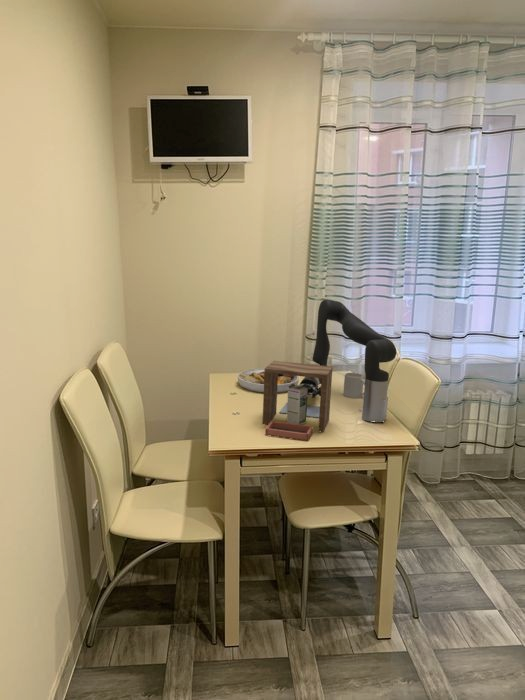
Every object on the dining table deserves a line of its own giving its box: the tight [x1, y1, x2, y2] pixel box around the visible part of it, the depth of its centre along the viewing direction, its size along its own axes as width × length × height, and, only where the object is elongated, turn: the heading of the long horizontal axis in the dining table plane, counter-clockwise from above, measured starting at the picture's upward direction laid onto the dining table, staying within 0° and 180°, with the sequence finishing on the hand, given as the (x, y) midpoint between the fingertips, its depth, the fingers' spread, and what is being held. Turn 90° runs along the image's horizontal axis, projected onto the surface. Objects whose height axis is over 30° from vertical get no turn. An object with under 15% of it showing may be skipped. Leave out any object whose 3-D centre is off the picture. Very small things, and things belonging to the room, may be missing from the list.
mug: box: [343, 372, 365, 399], centre depth 244 cm, size 11×10×10 cm
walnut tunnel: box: [262, 360, 334, 433], centre depth 204 cm, size 14×24×22 cm, turn 74°
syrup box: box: [286, 384, 308, 425], centre depth 205 cm, size 6×6×14 cm
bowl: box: [237, 368, 300, 394], centre depth 256 cm, size 30×30×8 cm
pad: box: [278, 402, 320, 419], centre depth 220 cm, size 14×18×1 cm
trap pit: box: [264, 420, 314, 442], centre depth 194 cm, size 9×16×2 cm, turn 74°
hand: (302, 394), depth 215 cm, fingers open, 8 cm apart
